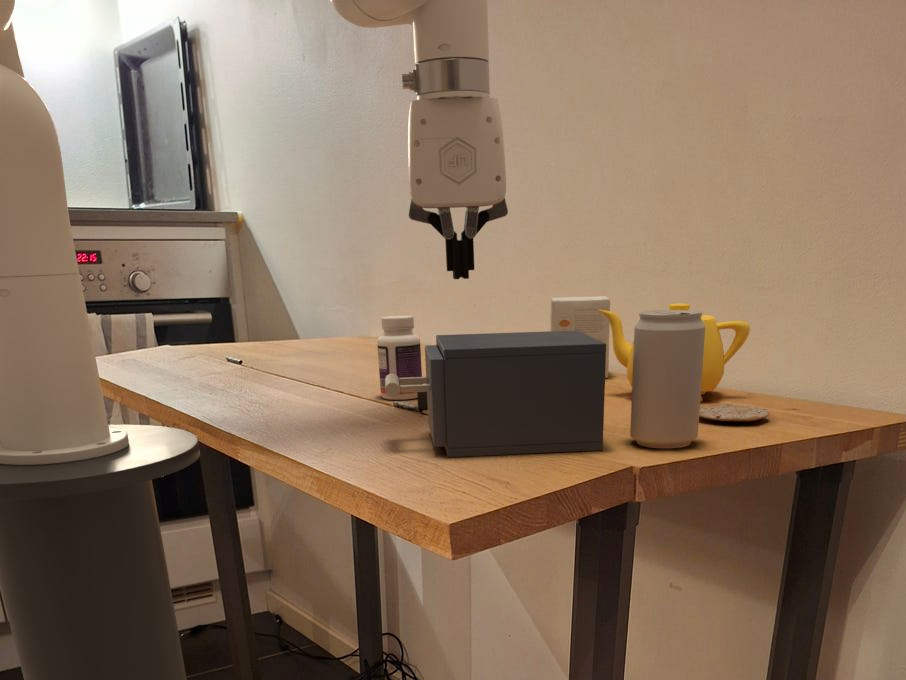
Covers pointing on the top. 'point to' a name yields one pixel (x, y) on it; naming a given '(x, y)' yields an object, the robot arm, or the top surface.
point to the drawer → (434, 389)
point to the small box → (582, 318)
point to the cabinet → (523, 392)
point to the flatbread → (733, 412)
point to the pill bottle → (399, 353)
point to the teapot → (712, 346)
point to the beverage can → (667, 378)
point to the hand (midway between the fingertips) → (460, 277)
